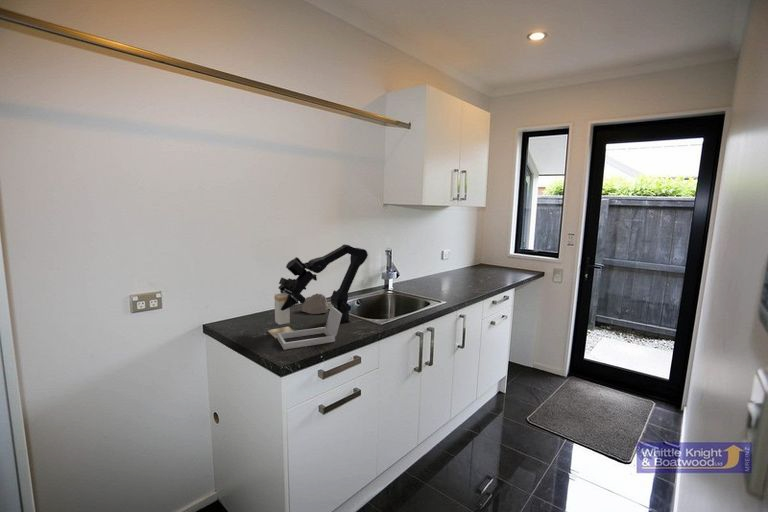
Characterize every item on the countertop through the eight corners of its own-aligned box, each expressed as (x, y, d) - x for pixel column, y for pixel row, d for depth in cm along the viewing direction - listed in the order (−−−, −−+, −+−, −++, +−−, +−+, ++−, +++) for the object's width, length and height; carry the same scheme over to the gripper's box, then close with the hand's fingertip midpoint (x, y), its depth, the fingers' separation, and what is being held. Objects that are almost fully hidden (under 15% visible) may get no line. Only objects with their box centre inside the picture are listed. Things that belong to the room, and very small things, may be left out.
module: (285, 319, 172) (285, 292, 170) (290, 322, 168) (289, 295, 166) (274, 321, 169) (274, 294, 167) (279, 324, 165) (278, 296, 163)
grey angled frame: (332, 330, 173) (332, 305, 171) (342, 340, 162) (342, 313, 160) (277, 338, 161) (277, 311, 160) (283, 349, 150) (283, 320, 148)
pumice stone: (299, 312, 200) (299, 294, 198) (305, 308, 207) (305, 291, 205) (325, 315, 196) (325, 297, 194) (330, 311, 203) (331, 294, 202)
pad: (288, 327, 176) (288, 326, 176) (297, 333, 168) (297, 332, 168) (267, 331, 170) (267, 330, 170) (275, 338, 162) (275, 337, 162)
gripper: (282, 267, 174) (259, 293, 169) (298, 274, 160) (274, 303, 155) (297, 282, 180) (276, 307, 175) (315, 290, 166) (292, 317, 161)
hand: (279, 308), depth 166 cm, fingers closed on module, 5 cm apart
